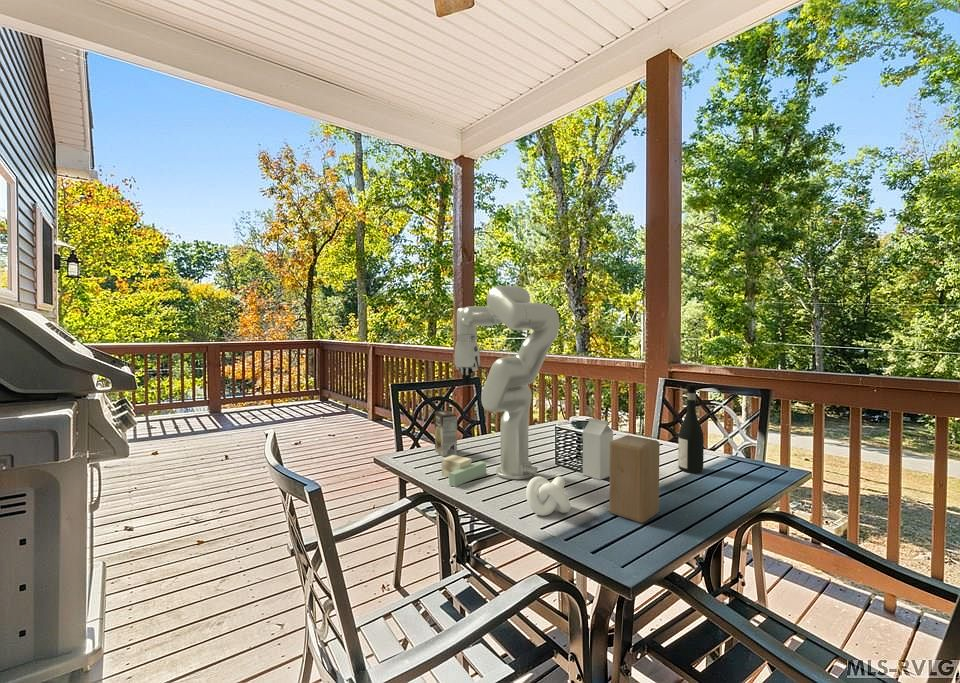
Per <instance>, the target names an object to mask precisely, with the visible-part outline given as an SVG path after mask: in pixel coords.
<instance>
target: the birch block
mask: <svg viewBox="0 0 960 683" xmlns="http://www.w3.org/2000/svg"><path fill="white" fill-rule="evenodd" d="M471 464H472V458H470V457H465V456H462V455H461V456H460V455H451V456H445V457H443V458H441V477H443V476H445V477H444V478H447V477H448V478H447V479H449V473H450V472H453V471H455V470H458V469H461V468H463V467H466V466H469V465H471Z"/></svg>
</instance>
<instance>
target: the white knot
mask: <svg viewBox="0 0 960 683" xmlns="http://www.w3.org/2000/svg"><path fill="white" fill-rule="evenodd" d="M565 485H566V481H565V478H564V477H563V476H561V475H560V476H556V477H555V478H554V479H553V480H551V482H550V481H549V480H548V479H547V478H545V477H542V476H540V475H539V476H534V477H533V478H531V479H530V480H529V481H528V483H527V486H526V489H525V495H526V501H527V504H528V506H529V508H530V509H531V511H532V512H533V513H535V514H536V515H538V516H542V517H544V516H548V515H550V514H552V513H553V512H554V511H555V510H556V511H557V512H559V513H561V514H567V513H568V512H570V510H571V502H570V499H569V497H568V495H567V494H566V493H565V492H564V488H565Z"/></svg>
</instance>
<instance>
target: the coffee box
mask: <svg viewBox="0 0 960 683" xmlns="http://www.w3.org/2000/svg"><path fill="white" fill-rule="evenodd" d="M434 451H435V452H436V451H437V452H438V454H439V455H440V456H441V455H442V456H441V457H449V456H451V455H456V456H458V414H456V413H454V412H452V411H450V410H437V411H434ZM437 452H436V453H437Z"/></svg>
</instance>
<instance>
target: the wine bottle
mask: <svg viewBox="0 0 960 683" xmlns="http://www.w3.org/2000/svg"><path fill="white" fill-rule="evenodd" d="M686 391H687V394H686V395H687V396H686V399H687V401H686V402H687V403H686V404H687V405H686V406H687V407H686V414H685V417H684V419H683V421H682V424H681V425H680V429H679V431H678V441H677V442H678V444H677V445H678V448H677V449H678V450H677V451H678V455H677V456H678V458H677V464H678V465H677V466H678V469H679V470H680V471H683V472H685V473H689V474H690V473H691V474H700V473H702V472H703V470H704V451H705V450H704V448H705V446H704V445H705V444H704V443H705V442H704V441H705V439H704V433H703V432H704V431H703V429H702V427H701V423H700V422H699V419H698V415H697V410H696V404H697V403H696V402H697V401H696V399H697V398H696V397H697V396H696V395H697V384H694V383H688V384H686Z"/></svg>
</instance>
